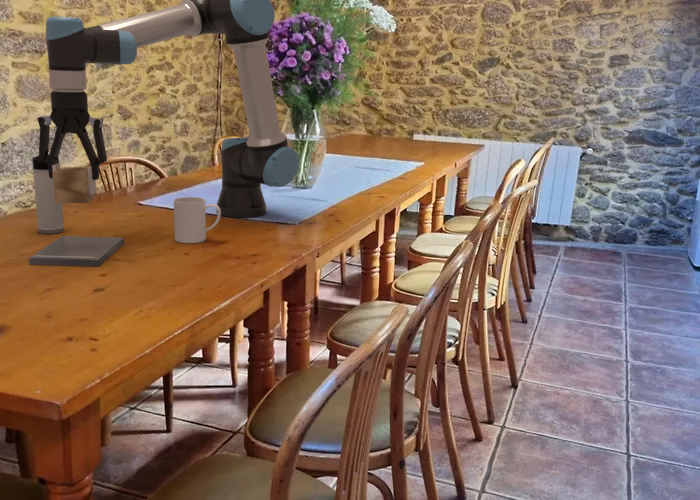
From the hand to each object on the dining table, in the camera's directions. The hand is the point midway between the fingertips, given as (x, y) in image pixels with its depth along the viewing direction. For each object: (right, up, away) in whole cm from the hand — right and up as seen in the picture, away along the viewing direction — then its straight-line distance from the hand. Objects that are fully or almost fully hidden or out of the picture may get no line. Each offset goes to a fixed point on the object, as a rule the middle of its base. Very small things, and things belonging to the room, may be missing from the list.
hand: (75, 193), depth 157 cm
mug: (+24, -11, +19) cm, 33 cm away
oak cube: (0, -2, +1) cm, 2 cm away
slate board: (-1, -14, +4) cm, 14 cm away
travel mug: (-15, -8, +23) cm, 28 cm away
